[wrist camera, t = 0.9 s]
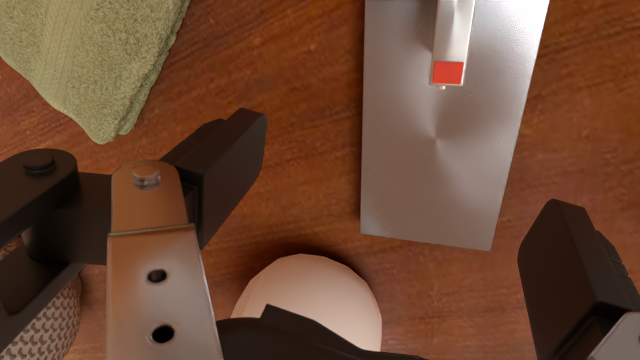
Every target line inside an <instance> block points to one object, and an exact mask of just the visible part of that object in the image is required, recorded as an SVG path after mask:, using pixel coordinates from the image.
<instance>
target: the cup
mask: <svg viewBox="0 0 640 360" xmlns="http://www.w3.org/2000/svg"><path fill="white" fill-rule="evenodd" d="M266 304H270V305H273V306H276V307H279V308H282V309H285V310H288V311H290V312H293V313H296V314H299V315H302V316H305V317H308V318H310V319H313V320H315V321H317V322H319V323H320V324H322V325H323V326H325V327H327V328H328V329H330V330H331V331H333V332H335V333H336V334H338V335H339V336H341V337H343V338H344V339H346V340H348V341H349V342H351V343H352V344H354V345H356V346H357V347H359V348H361V349H364V350H370V351H379V352H380V347H381V339H382V318H381V315H380V311H379V308H378V304H377V301H376V299H375V297H374V295H373V294H372V292H371V290H370V288H369V286H368V284H367V283H366V282H365V281H364V280H363V279H362V278H361V277H359V276H358V275H357V274H356V273H355V272H354V271H352V270H351V269H350V268H349V267H347V266H345V265H343V264H341V263H338V262H336V261H334V260H331V259H329V258H327V257H324V256H316V255H308V254H296V255H291V256H287V257H283V258H279V259H277V260H276V261H275V262H273V263H272V264H270V265H269V266H267V267H266V268H265V269H264V270H262V271H261V272H260V273H259V274H257V275H256V276H255V277H254V278H252V279H251V280H250V281H249V283H248V285H247V286H246V288H245V290H244V291H243V293H242V295H241V296H240V298H239V300H238V301H237V303H236V306H235V308H234V310H233V313H232V315H231V317H230V318H237V317H256V318H260V316H261V314H262V312H263V310H264V308H265V306H266Z"/></svg>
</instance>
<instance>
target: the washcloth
mask: <svg viewBox="0 0 640 360" xmlns="http://www.w3.org/2000/svg"><path fill="white" fill-rule="evenodd" d="M190 1H191V0H0V56H1V57H2V58H3V59H4V61H5V62H6V63H7V64H9V65H10V66H11V67H12V68H13V69H15V70H16V71H17V72H19V73H20V74H21V75H22V76H24V77H25V78H26V79H27V80H28V81H30V82H31V83H32V85H33V86H34V88H35V89H36V90H37V91H38V92H39V93H40V95H41V96H42V97H43V98H44V99H45V100H46V101H47V102H48V103H49V104H50V105H51V106H52V107H53V108H55V109H56V110H58V111H61V112H63V113H65V114H66V115H68V116H69V117H71V118H72V119H74V120H75V121H76V122H77V123H78V124H79V125H80V126H81V127H82V128H83V129H84V130H85V132H86V133H87V134H88V136H89V137H90V138H91V139H92V140H93V141H94V142H96V143H98V144H105V143H107V142H108V141H110V142H111V141H113V140H114V138H115V137H116V135H117V134H121V135H124V134H127V133H128V132H129V131H130V130H131V129H134V124H135V123H136V121H137V118H138V116H139V114H140V111H141V109H142V108H143V107H144V105H145V102H146V100H147V98H148V94H149V92H150V89H151V87H152V86H154V84H155V81H156V80H157V77H158V74H160V71H161V68H162V65H163V63H164V61H165V60H166V58H167V56H168V55H169V51H168V50H169V49H170V48H171V46H172V44H174V42H175V40H176V37H177V35H176V32H177V31H178V30H179V29H180V25H181V23H182V18H184V17H185V14H186V11H187V7H188V5H189V3H190Z"/></svg>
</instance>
